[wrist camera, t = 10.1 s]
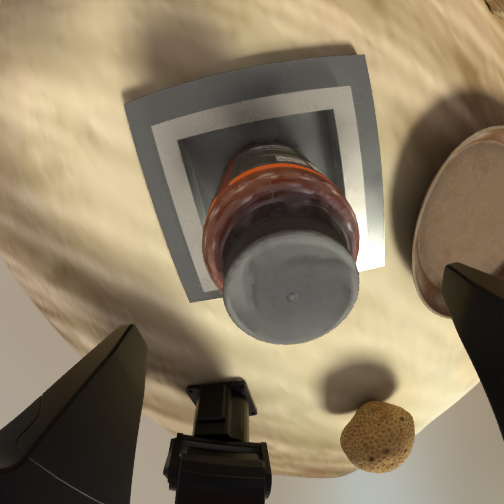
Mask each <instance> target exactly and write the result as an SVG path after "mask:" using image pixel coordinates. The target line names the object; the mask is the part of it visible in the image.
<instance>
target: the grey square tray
mask: <svg viewBox="0 0 504 504" xmlns="http://www.w3.org/2000/svg"><path fill="white" fill-rule="evenodd" d="M124 106H125V110H126V114H127V118H128V122H129V125H130V129H131V133H132V136H133V140H134V143H135V147H136V150H137V154H138V157H139V161H140V164H141V167H142V170H143V174H144V177H145V180H146V183H147V186H148V189H149V193H150V196H151V199H152V202H153V205H154V208H155V211H156V214H157V217H158V220H159V222H160V225H161V228H162V231H163V234H164V237H165V239H166V242H167V245H168V248H169V250H170V253H171V256H172V258H173V261H174V264H175V266H176V269H177V272H178V274H179V277H180V279H181V282H182V284H183V287H184V290H185V292H186V295H187V297H188V299H189V302H190V303H191V302H197V301H204V300H210V299H216V298H222V297H223V295H222V293H221V292H220V291H219V289H218V288H217V287H216V286H215V284H214V283H213V281H212V280H211V278H210V276H209V274H208V272H207V269H206V267H205V263H204V259H203V253H202V235H203V228H204V223H205V220H206V216H207V213H208V211H209V208H210V205H211V202H212V199H213V197H214V194H215V191H216V188H217V186H218V182H219V180H220V177H221V175H222V172H223V170H224V168H225V167H226V165H227V163H228V162H229V161H230V160H231V158H232V157H233V156H234V155H235V154H237V153H238V152H239V151H241V150H242V149H244V148H246V147H247V146H250V145H252V144H256V143H260V142H277V143H282V144H285V145H288V146H290V147H292V148H294V149H296V150H297V151H299V152H300V153H301V154H303V155H304V156H305V157H306V158H307V159H308V160H309V161H310V162H311V163H312V164H313V165H314V166H316V167H317V168H318V169H319V170H320V171H321V172H322V173H323V174H324V175H325V176H326V177H327V178H328V179H329V180H330V181H331V182H332V183H333V184H334V185H335V186H336V187H337V188H338V189H339V190H340V191H341V192H342V194H343V195H344V196H345V198H346V199H347V201H348V202H349V204H350V205H351V207H352V209H353V211H354V213H355V215H356V218H357V222H358V226H359V232H360V248H359V254H358V258H357V262H356V265H357V268H358V271H364V270H368V269H373V268H377V267H382V266H384V258H385V231H384V199H383V182H382V168H381V157H380V147H379V138H378V130H377V122H376V115H375V108H374V102H373V96H372V90H371V84H370V79H369V74H368V69H367V64H366V59H365V55H342V56H327V57H316V58H306V59H298V60H290V61H283V62H276V63H270V64H264V65H258V66H253V67H248V68H243V69H238V70H234V71H229V72H225V73H220V74H216V75H212V76H208V77H205V78H201V79H197V80H193V81H190V82H186V83H183V84H180V85H176V86H173V87H170V88H167V89H164V90H161V91H158V92H155V93H152V94H149V95H146V96H144V97H141V98H138V99H136V100H133V101H130V102H128V103H125V104H124Z"/></svg>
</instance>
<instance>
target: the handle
mask: <svg viewBox="0 0 504 504" xmlns="http://www.w3.org/2000/svg"><path fill="white" fill-rule="evenodd" d="M486 2H487V3H488V4H489V6H490V9H491V11H492V13H493V14H494V15H498V16H499V17H500V18H501V19H503V20H504V0H486Z"/></svg>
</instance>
